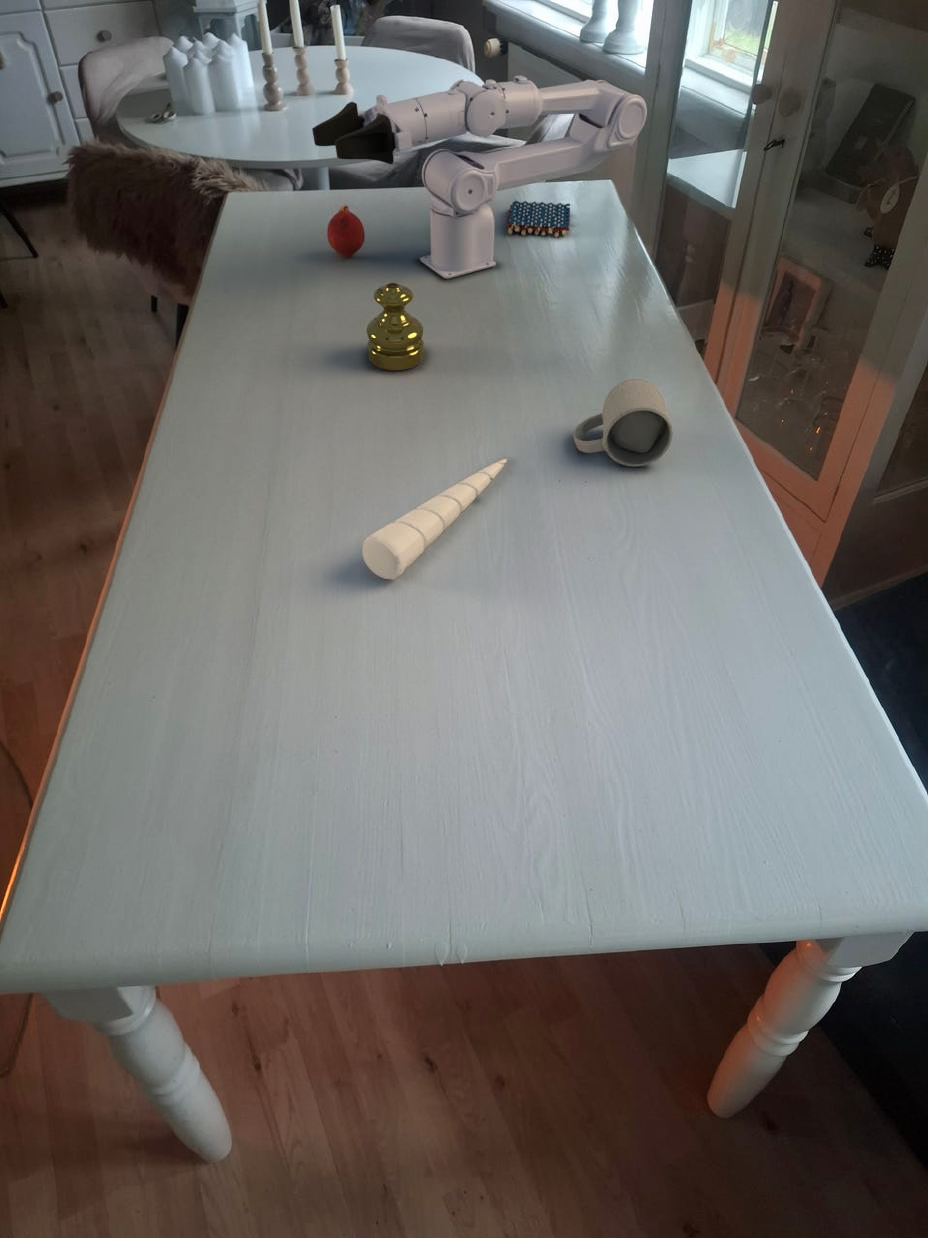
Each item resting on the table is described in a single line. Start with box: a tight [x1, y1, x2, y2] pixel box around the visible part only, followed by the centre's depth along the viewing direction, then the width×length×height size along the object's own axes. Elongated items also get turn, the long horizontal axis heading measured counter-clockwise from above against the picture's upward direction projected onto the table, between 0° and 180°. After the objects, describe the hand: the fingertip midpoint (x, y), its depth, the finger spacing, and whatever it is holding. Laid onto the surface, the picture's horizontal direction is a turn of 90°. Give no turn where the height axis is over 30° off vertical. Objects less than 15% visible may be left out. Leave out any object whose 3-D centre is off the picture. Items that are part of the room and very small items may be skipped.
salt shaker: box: [366, 282, 424, 372], centre depth 112 cm, size 7×7×10 cm
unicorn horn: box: [361, 458, 508, 581], centre depth 91 cm, size 5×24×5 cm, turn 142°
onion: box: [326, 204, 366, 259], centre depth 134 cm, size 6×6×8 cm
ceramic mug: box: [573, 378, 674, 468], centre depth 100 cm, size 11×8×8 cm
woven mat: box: [506, 200, 571, 238], centre depth 147 cm, size 10×11×2 cm
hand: (325, 142), depth 114 cm, fingers open, 7 cm apart
